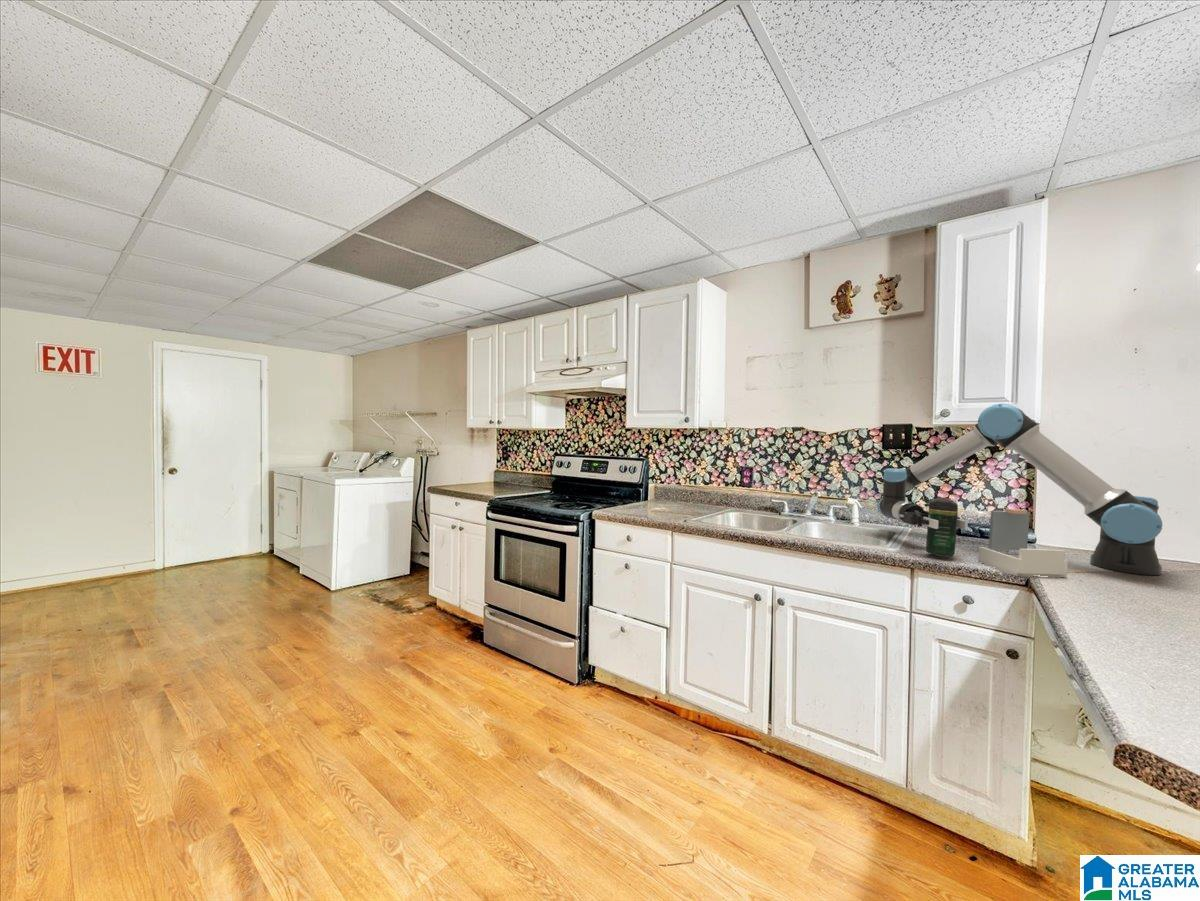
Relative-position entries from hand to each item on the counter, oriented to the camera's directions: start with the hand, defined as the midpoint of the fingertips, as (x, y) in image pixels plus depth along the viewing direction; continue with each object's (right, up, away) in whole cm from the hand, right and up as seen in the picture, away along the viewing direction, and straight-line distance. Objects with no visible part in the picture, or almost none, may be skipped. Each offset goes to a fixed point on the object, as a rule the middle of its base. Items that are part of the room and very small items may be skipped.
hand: (951, 525), depth 152 cm
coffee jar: (0, -11, +5) cm, 12 cm away
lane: (+15, -13, -7) cm, 21 cm away
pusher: (+16, -7, -4) cm, 18 cm away
